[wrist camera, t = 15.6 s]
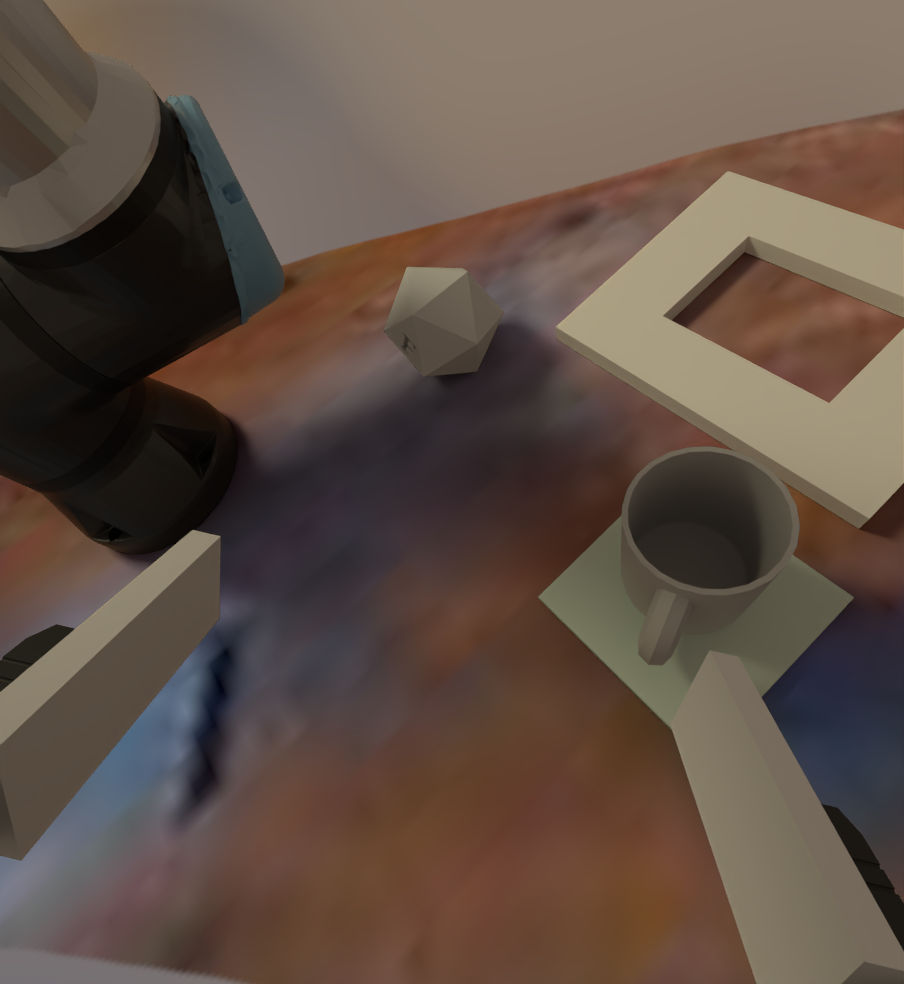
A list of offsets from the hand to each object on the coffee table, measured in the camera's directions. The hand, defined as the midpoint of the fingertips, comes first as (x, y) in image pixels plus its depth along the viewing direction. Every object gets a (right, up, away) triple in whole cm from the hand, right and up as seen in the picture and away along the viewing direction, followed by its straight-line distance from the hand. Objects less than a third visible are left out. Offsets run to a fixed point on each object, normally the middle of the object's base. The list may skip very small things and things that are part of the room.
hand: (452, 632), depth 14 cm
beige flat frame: (+23, +16, +23) cm, 37 cm away
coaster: (+14, -3, +17) cm, 22 cm away
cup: (+13, -2, +17) cm, 22 cm away
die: (0, +15, +31) cm, 35 cm away
